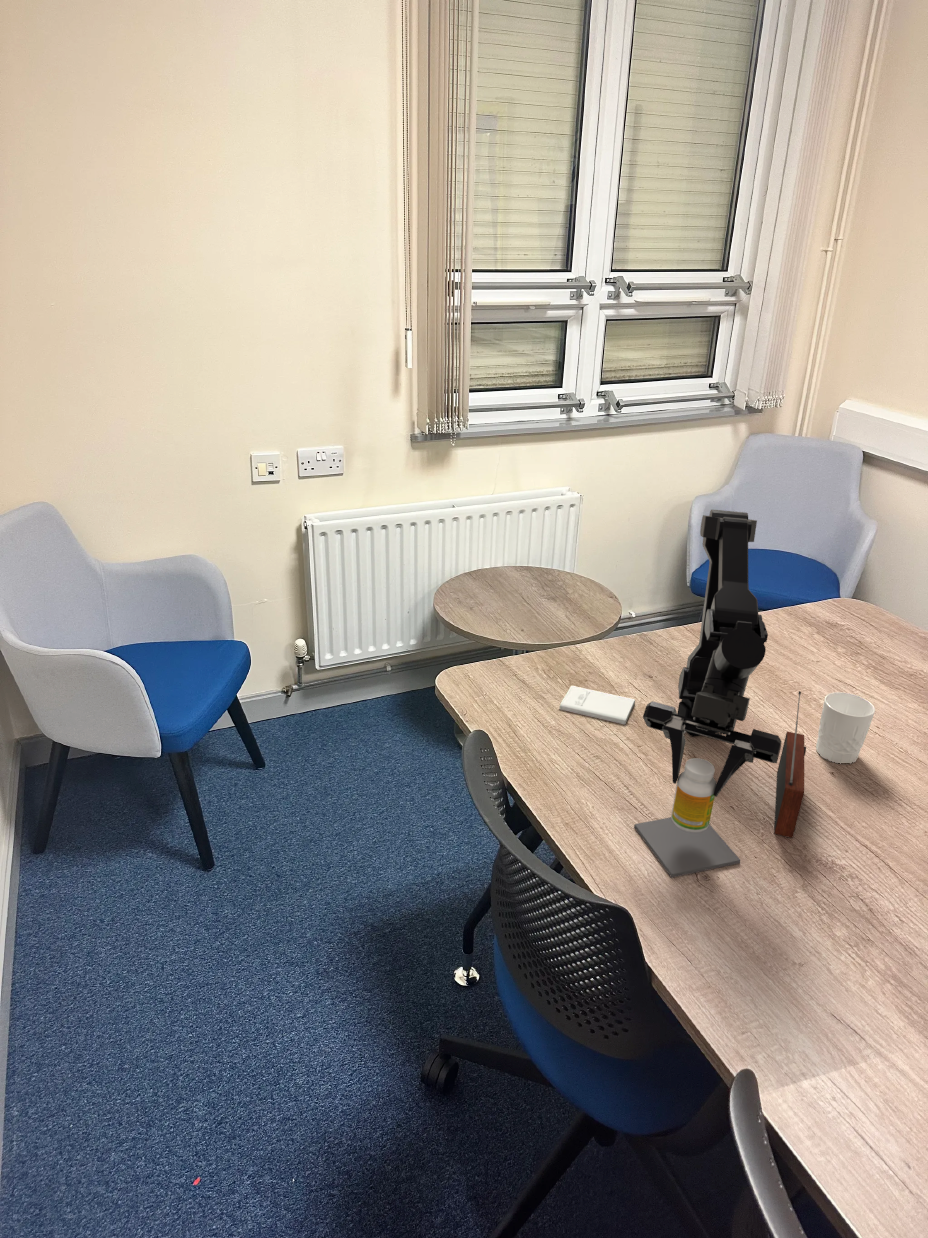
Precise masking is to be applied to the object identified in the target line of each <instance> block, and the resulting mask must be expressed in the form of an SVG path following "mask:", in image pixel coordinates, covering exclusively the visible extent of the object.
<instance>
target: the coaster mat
mask: <svg viewBox="0 0 928 1238" xmlns="http://www.w3.org/2000/svg"><path fill="white" fill-rule="evenodd" d="M633 825H634V827H633V828H634V829H635V830H636V832H637V833H638V835H639V837H640V838H641V839H642V840H643V841H644V843H645V844H646V845H647V846H648V848H649V849H650V851H651V853H652V854H653V855H654V856H655V858H656V859H657V860H658V862H659V863H660V864H661V866H662V867H663V868H664V870H665V871H666V873H667V874H668V875H669V877H670V878H676V877H677V878H678V877H681V876H686V875H690V874H696V873H700V872H704V871H708V870H714V869H718V868H722V867H723V868H724V867H728V866H729V867H730V866H733V865H737V864H740V863H741V859H740V857H739V856H738V855H737V854H736V853H735V852H734V851H733V849H732V848H731V847H730V846H729V845H728V844H727V842H726V841H725V840H724V839H723V838H722V836H720V834H719V833H718V832H717V831H716V830H715V829H714V828H713V826H712V825H711V824H710V823H709V826H708V828H707V829H706V830H704V831H701V832H688V831H684V830H682V829H680V828H679V827H677V826H676V825H675V824H674V822H673V821H672V818H671V817H664V818H660V819H655V820H649V821H644V822H638V823H635V824H633Z"/></svg>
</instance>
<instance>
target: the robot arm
mask: <svg viewBox="0 0 928 1238" xmlns="http://www.w3.org/2000/svg"><path fill="white" fill-rule="evenodd" d="M757 524H758V520H756V519H751V518H750V519H749V513H748V512H745V511H735V510H722V509H710V511H709V515H706V514H705V515H702V518H701V525H700V531H699V534H700V535H699V536H700V537H701V538H702V547H703V549H704V551H705V554H706V556H707V558H708V561H709V563H708V564H709V565H708V571H707V579H706V587H705V595H704V601H703V602H704V603H703V610H702V618H701V625H700V632H699V633H700V634H699V641H698V645H696V646H695V648H694V649H693V651H692V652H691V653H690V654H689V655H688V656H687V661H686V667H682V670H681V672H680V674H679V678H678V686H677V687H678V689H677V691H678V700H681V701H679V703H678V707H677V709H676V707H674V706H670V705H668V704H665V703H660V702H657V701H650V702H649V703H647V704H646V706H645V708H644V712H643V715H642V719H643V720H644V723H645V724H646V727H648V728H650V729H652V730H653V729H654V730H657V731H661V732H662V733H663V735H664V738H666V739H668V740H669V741H670V748H671V764H672V765H671V769H672V774H671V775H672V783H673V784H676V785H677V780H678V777H679V775H680V774H681V769H682V768H681V767H682V763H683V762H682V761H683V757H684V752H685V747H686V742H687V740H686V737H685V734H686V733H687V734H688V735H689V736H690V737H696V736H702V737H706V738H710V739H714V740H717V741H721V742H724V743H727V744H731V746H730V749H729V752H728V755H727V758H726V760H725V763H724V765H723V768H722V770H721V772H720V774H719V777H718V779H717V781H716V787H715V791H714V796H715V797H718V795H719V794H720V793H721V792H722V790H724V787H725V786H726V785H727V783H728V782H729V780H730V779H731V778H732V777H733V775H735V774H736V772H737V771H738V770H739V769H740V768H741V767H742V766H743V765H744V764H745V763H750V764H751V763H752V764H753V763H754V760H755V759H757V760H761V761H764V762H768V763H772V764H778V760H779V757H780V752H781V750H782V739H781V738H780V736H779V735H776V734H774V733H769V732H766V731H763V730H759V729H756V728H753V729H752V731H751V733H750V734H747V733H743V732H740V731H736V730H735V728H736V727H735V726H736V723H737V721H740V722H744V721H745V720H746V717H747V713H748V710H749V705H750V697H747V696H744V695H745V691H746V689H747V685H748V681H749V679H750V675H752V674H753V673H754V671H755V670H756V669H757V668H758V666H759V665H760V664H761V662H763V660H764V657H766V656H765V655H766V652H767V651H766V646H765V643H767V641H768V636H769V634H768V630H767V627H766V624H765V622H764V620H763V616H762V614H759V605H758V604H759V603H758V602H759V601H758V598H757V597H756V596H755V595H754V594H753V593H752V592H751V590H750V589H749V588H750V587H749V543H754V542H755V537H756V531H757V530H756V529H757Z"/></svg>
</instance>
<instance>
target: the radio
mask: <svg viewBox="0 0 928 1238" xmlns="http://www.w3.org/2000/svg"><path fill="white" fill-rule="evenodd" d="M801 695H802V691H800V690H799V691H798V702H797V712H796V720H795V721H796V722H795V730H794V732H792V731H786V733H785V736H784V741H783V746H782V749H781V755H780V759H779V763H778V766H777V771H776V782H775V783H776V787H775V802H774V803H775V805H774V806H775V807H774V822H773V823H774V824H773V825H774V827H773V834H774V835H778V836H782V837H786V838H791V839H793V838H794V835H795V831H796V827H797V823H798V820H799V815H800V813H801V812H800V811H801V809H802V808H801V807H802V803H803V800H804V795H805V756H806V752H807V746H805V743H806V742H805V734H803V733H798V724H799V723H798V720H799V710H800V701H801V700H800V699H801Z"/></svg>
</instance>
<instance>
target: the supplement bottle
mask: <svg viewBox="0 0 928 1238" xmlns="http://www.w3.org/2000/svg"><path fill="white" fill-rule="evenodd" d="M683 769H684V770H683V771H682V772H680V773H679V777H678V779H677V782H676V787H675V793H674V798H673V803H672V809H671V818H672V821H673V822H674V824H675V825H676V826H677V827H679V828H680V829H682V830H684V831H688V832H701V831H704V830H706V829H707V828H708V826H709V824H710V823H711V818H712V813H713V807H714V803H715V797H716V796H714V791H715V787H716V784H717V781H716V779H715V778H714V775H715V771H716V769H715V766H714V764H713V763H712V762H710V761H709V760H707V759H704V758H699V757H693V758H689V759H687V760H686V762H685V766H684V768H683Z"/></svg>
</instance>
